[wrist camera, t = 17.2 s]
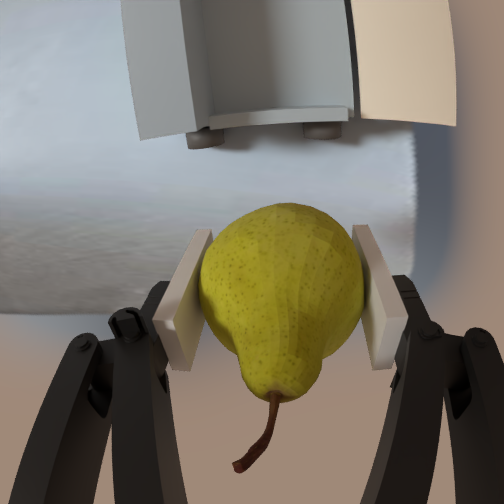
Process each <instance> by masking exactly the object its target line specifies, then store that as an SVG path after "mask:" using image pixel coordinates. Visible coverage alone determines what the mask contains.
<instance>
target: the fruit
mask: <svg viewBox="0 0 504 504" xmlns="http://www.w3.org/2000/svg"><path fill="white" fill-rule="evenodd" d="M198 289H199V300H200V305H201V308H202V311H203V314H204V317H205V319H206V321H207V323H208V325H209V326H210V328H211V330H212V332H213V333H214V335H215V336H216V337H217V339H218V340H219V341H220V342H221V343H222V344H223V345H224V346H225V347H226V348H227V349H228V350H229V351H231V352H233V353H235V354H236V355H237V357H238V360H239V364H240V368H241V374H242V378H243V380H244V382H245V383H246V385H247V387H248V389H249V390H250V391H251V392H252V393H253V394H254V395H255V396H256V397H258V398H260V399H262V400H264V401H267V402H270V408H269V418H268V422H267V426H266V429H265V431H264V434H263V435H262V436H261V438H260V439H259V440H258V441H257V442H256V443H255V444H254V445H252V446H251V447H250V449H249V450H248V452H247V453H246V454H245V456H244V457H242V458H241V459H239V460H237V461H235V462H233V463H232V465H233V467H234V471H235V472H237V473H242V472H244V471H246V470H247V469H248V468H249V467H250V466H251V465H252V464H253V463H254V462H255V460H257V458H259V456H260V455H261V454H262V453H263V452H264V451H265V449H266V448H267V446H268V444H269V442H270V439H271V437H272V434H273V430H274V425H275V420H276V417H277V412H278V408H279V403H284V402H289V401H292V400H295V399H297V398H299V397H301V396H302V395H304V394H305V393H307V391H308V390H309V389H310V388H311V387H312V385H313V384H314V383H315V382H316V380H317V378H318V376H319V374H320V371H321V368H322V359H324V358H326V357H328V356H330V355H331V354H333V353H334V352H335V351H336V350H337V349H339V348H340V347H341V346H342V345H343V344H344V342H345V341H346V340H347V339H348V338H349V336H350V335H351V333H352V332H353V330H354V329H355V327H356V325H357V323H358V321H359V319H360V317H361V315H362V312H363V309H364V274H363V270H362V265H361V261H360V257H359V254H358V252H357V250H356V247H355V245H354V243H353V241H352V240H351V238H350V237H349V235H348V234H347V232H346V231H345V229H344V228H343V227H342V226H341V225H340V224H339V223H338V222H337V221H335V220H334V219H333V218H332V217H330V216H329V215H328V214H326V213H324V212H322V211H320V210H318V209H315V208H313V207H311V206H306V205H301V204H296V203H279V204H274V205H270V206H266V207H263V208H260V209H257V210H255V211H253V212H251V213H248V214H246V215H244V216H242V217H241V218H239V219H237V220H236V221H234V222H233V223H231V224H230V225H229V226H227V227H226V228H225V229H224V230H223V231H222V232H221V233H220V234H219V235H218V236H217V237H216V239H215V240H214V241H213V242H212V244H211V245H210V246H209V247H208V249H207V250H206V253H205V256H204V259H203V262H202V267H201V272H200V277H199V282H198Z"/></svg>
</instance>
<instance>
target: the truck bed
mask: <svg viewBox="0 0 504 504" xmlns="http://www.w3.org/2000/svg"><path fill="white" fill-rule="evenodd" d="M121 11H122V21H123V31H124V40H125V48H126V56H127V64H128V71H129V78H130V84H131V91H132V97H133V103H134V109H135V115H136V121H137V126H138V131H139V137H140V141H141V140H146V139H151V138H157V137H163V136H169V135H175V134H181V133H186V138H187V144H188V149H203V148H209V147H214V146H218V145H221V144H223V143H224V135H223V128H231V127H240V126H251V125H263V124H276V123H294V122H303V131H304V137H305V138H308V139H319V140H325V139H336V138H340V137H341V136H342V135H341V121H348V117H354V99H353V82H352V69H351V57H350V46H349V37H348V28H347V20H346V12H345V5H344V0H121Z"/></svg>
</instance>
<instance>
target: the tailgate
mask: <svg viewBox="0 0 504 504" xmlns="http://www.w3.org/2000/svg"><path fill="white" fill-rule="evenodd" d="M351 7H352V14H353V22H354V31H355V40H356V50H357V61H358V73H359V89H360V109H361V118H364V119H385V120H400V121H412V122H423V123H432V124H441V125H448V126H456V67H455V52H454V41H453V31H452V23H451V16H450V9H449V3H448V0H351Z"/></svg>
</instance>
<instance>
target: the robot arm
mask: <svg viewBox="0 0 504 504" xmlns="http://www.w3.org/2000/svg"><path fill="white" fill-rule="evenodd" d="M352 241H353V243H354V245H355V247H356V250H357V252H358V254H359V257H360V261H361V265H362V270H363V274H364V309H363V312H362V315H361V320H362V324H363V328H364V333H365V337H366V341H367V346H368V350H369V355H370V360H371V365H372V370H382V369H391V368H392V365H393V363H394V360H395V362H396V366H397V370H396V373H395V375H394V378H393V381H392V383H391V385H390V387H391V388H392V391H391V396H390V401H389V405H388V410H387V414H386V418H385V422H384V426H383V430H382V434H381V438H380V442H379V446H378V449H377V453H376V457H375V460H374V463H373V466H372V469H371V473H370V476H369V479H368V482H367V485H366V488H365V491H364V494H363V497H362V499H361V503H360V504H427V500H428V496H429V492H430V487H431V483H432V478H433V472H434V467H435V462H436V456H437V449H438V443H439V436H440V428H441V419H442V409H443V396H444V401H445V406H446V411H447V419H448V425H449V431H450V440H451V447H452V457H453V465H454V479H455V496H456V504H504V363H503V361H502V358H501V355H500V353H499V350H498V348H497V345H496V343H495V340H494V338H493V337H492V335H491V334H490V333H489V332H488V331H486V330H484V329H482V328H476V327H475V328H470V329H469V330H468V331H467V332H466V333H465V336H464V337H462V336H455V335H450V334H446V333H444V330H443V329H442V327H441V326H440V325H439V324H437V323H436V322H433V321H431V320H430V318H429V315H428V313H427V311H426V309H425V306H424V304H423V302H422V300H421V299H420V296H419V294H418V292H417V290H416V288H415V286H414V284H413V282H412V281H411V280H410V279H409V278H408V277H406V276H405V275H394V276H391V273H390V271H389V269H388V267H387V265H386V262H385V260H384V258H383V256H382V254H381V251H380V249H379V247H378V245H377V243H376V241H375V239H374V237H373V235H372V233H371V231H370V229H369V227H368V225H353V230H352ZM212 242H213V236H212V230H211V229H206V230H196V232H195V234H194V236H193V238H192V240H191V242H190V244H189V246H188V248H187V250H186V252H185V254H184V256H183V258H182V260H181V261H180V263H179V265H178V267H177V269H176V271H175V273H174V275H173V277H172V280H171V281H160V282H158V283H157V284H156V285H155V286H154V287H153V288H152V289H151V291H150V293H149V295H148V298H146V300H145V302H144V304H143V306H142V308H141V310H139V309H137V308H133V307H128V308H123V309H120V310H118V311H117V312H115V313H114V314H113V315H112V316H111V317H110V319H109V321H108V324H109V326H110V328H111V330H112V332H113V334H114V336H115V339H110V340H104V341H98V339H97V337H96V336H95V335H94V334H91V333H84V334H80V335H78V336H76V337H75V338H74V339H73V340H72V341H71V343H70V344H69V346H68V348H67V350H66V352H65V354H64V356H63V358H62V360H61V362H60V364H59V367H58V369H57V371H56V374H55V375H54V378H53V380H52V382H51V384H50V387H49V389H48V391H47V393H46V396H45V398H44V401H43V403H42V406H41V408H40V410H39V413H38V415H37V418H36V421H35V423H34V426H33V428H32V431H31V434H30V436H29V439H28V442H27V445H26V447H25V450H24V453H23V456H22V459H21V462H20V465H19V469H18V472H17V475H16V478H15V482H14V485H13V489H12V492H11V496H10V500H9V503H8V504H93V502H94V497H95V492H96V487H97V482H98V478H99V473H100V469H101V464H102V460H103V456H104V452H105V447H106V444H107V439H108V436H109V431H110V428H111V424H112V466H113V484H114V499H115V504H188V502H187V498H186V493H185V488H184V483H183V477H182V472H181V466H180V461H179V454H178V448H177V442H176V435H175V429H174V422H173V414H172V406H171V399H170V389H169V381H168V375H167V372H166V370H165V369H166V366H167V364H168V361H169V364H170V366H171V368H172V370H180V371H190V370H191V367H192V363H193V360H194V356H195V353H196V350H197V346H198V343H199V339H200V336H201V332H202V329H203V325H204V322H205V317H204V314H203V311H202V308H201V305H200V300H199V289H198V282H199V277H200V272H201V267H202V262H203V259H204V256H205V253H206V250H207V249H208V247H209V246H210V245H211V244H212Z"/></svg>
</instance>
